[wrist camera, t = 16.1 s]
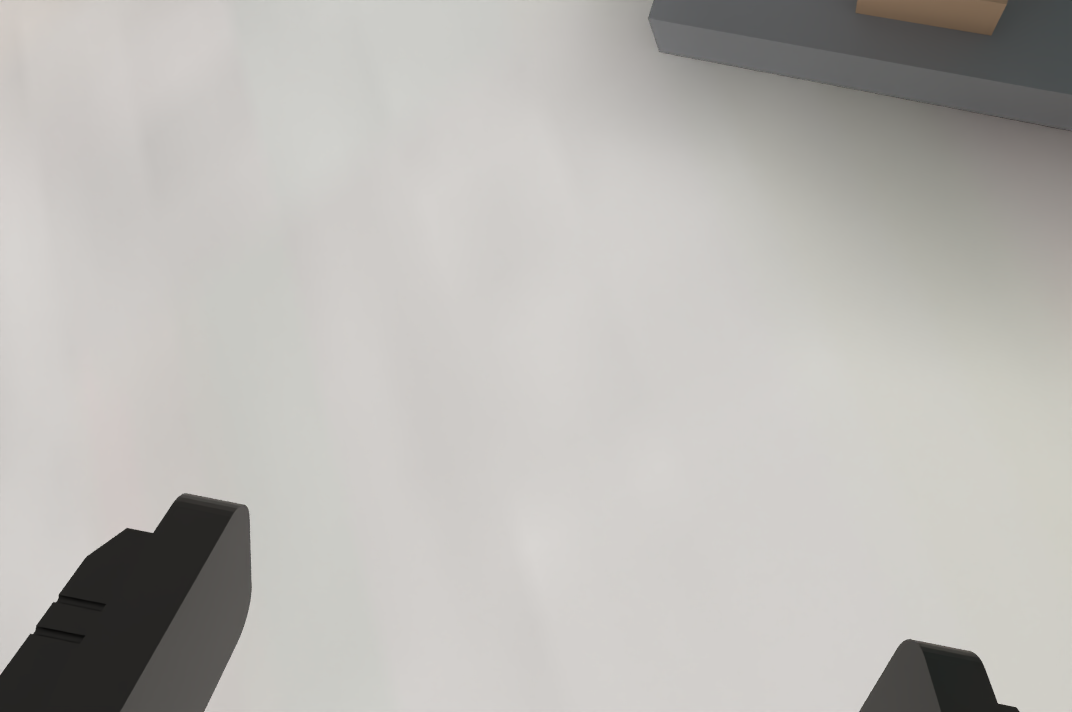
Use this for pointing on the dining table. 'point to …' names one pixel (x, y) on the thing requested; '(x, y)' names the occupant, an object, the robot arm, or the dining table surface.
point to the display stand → (893, 48)
